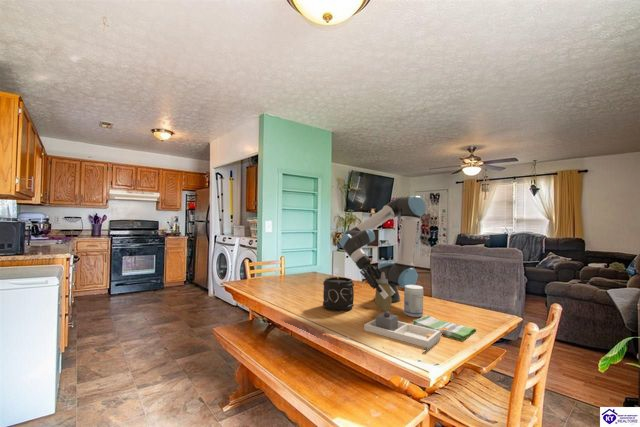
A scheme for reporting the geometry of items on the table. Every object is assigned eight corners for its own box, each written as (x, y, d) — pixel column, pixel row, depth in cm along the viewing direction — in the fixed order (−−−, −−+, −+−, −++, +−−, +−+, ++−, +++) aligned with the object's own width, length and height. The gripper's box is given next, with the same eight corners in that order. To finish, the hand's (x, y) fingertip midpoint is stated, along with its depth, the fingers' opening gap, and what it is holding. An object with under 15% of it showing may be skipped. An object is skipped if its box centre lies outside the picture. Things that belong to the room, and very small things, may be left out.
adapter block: (383, 325, 137) (383, 308, 137) (397, 329, 132) (397, 311, 132) (375, 330, 131) (375, 311, 131) (390, 333, 127) (390, 314, 127)
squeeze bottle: (394, 307, 148) (393, 271, 149) (389, 312, 141) (388, 274, 142) (378, 305, 152) (377, 270, 153) (372, 309, 146) (372, 272, 146)
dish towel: (427, 319, 151) (427, 312, 151) (476, 332, 134) (476, 324, 134) (410, 328, 138) (410, 320, 139) (462, 342, 122) (462, 333, 122)
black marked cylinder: (343, 314, 156) (343, 284, 156) (316, 308, 167) (316, 280, 167) (360, 306, 170) (360, 279, 171) (334, 301, 181) (334, 275, 182)
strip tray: (380, 324, 142) (380, 316, 142) (440, 339, 124) (440, 331, 124) (364, 332, 131) (364, 324, 131) (427, 350, 113) (427, 341, 113)
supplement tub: (400, 312, 160) (400, 284, 161) (416, 311, 163) (416, 284, 163) (410, 318, 151) (410, 288, 151) (427, 316, 153) (427, 288, 154)
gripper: (366, 261, 165) (394, 296, 154) (346, 266, 150) (375, 304, 139) (374, 252, 161) (403, 287, 150) (354, 256, 146) (385, 295, 136)
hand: (389, 295), depth 145 cm, fingers closed on squeeze bottle, 6 cm apart
